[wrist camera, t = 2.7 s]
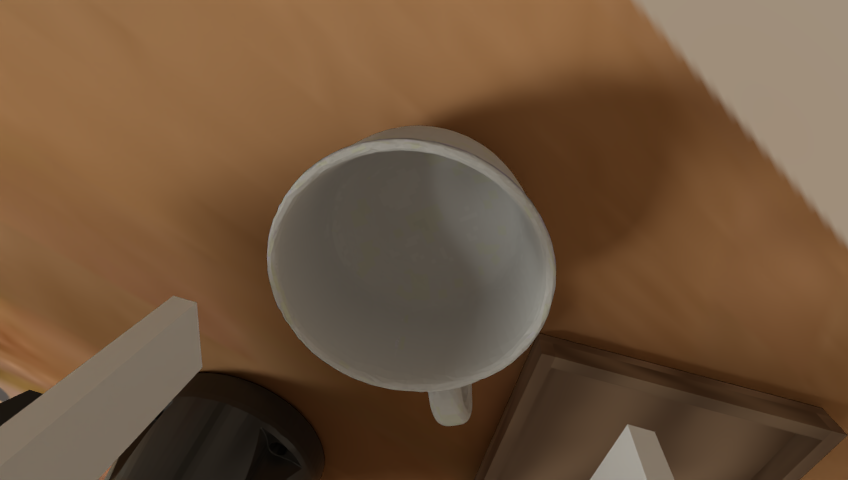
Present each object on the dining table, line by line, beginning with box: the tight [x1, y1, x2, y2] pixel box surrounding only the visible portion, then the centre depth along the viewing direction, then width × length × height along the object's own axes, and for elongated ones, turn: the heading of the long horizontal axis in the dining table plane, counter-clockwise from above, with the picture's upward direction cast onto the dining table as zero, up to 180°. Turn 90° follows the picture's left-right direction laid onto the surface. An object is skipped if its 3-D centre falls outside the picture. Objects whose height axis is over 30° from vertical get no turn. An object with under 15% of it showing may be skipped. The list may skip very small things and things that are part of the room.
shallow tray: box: [474, 333, 847, 480], centre depth 26 cm, size 17×17×2 cm
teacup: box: [267, 126, 556, 426], centre depth 18 cm, size 14×11×8 cm
